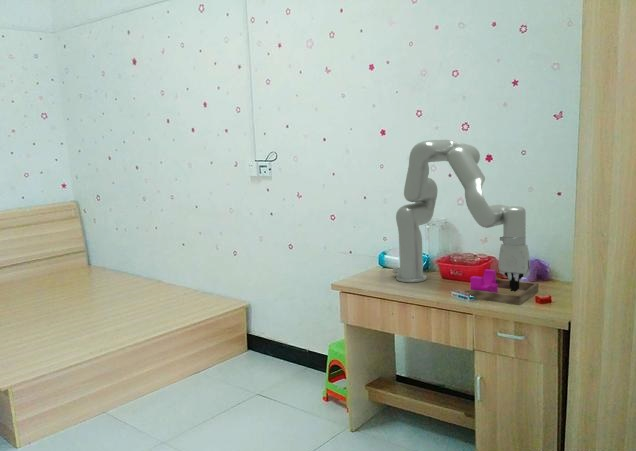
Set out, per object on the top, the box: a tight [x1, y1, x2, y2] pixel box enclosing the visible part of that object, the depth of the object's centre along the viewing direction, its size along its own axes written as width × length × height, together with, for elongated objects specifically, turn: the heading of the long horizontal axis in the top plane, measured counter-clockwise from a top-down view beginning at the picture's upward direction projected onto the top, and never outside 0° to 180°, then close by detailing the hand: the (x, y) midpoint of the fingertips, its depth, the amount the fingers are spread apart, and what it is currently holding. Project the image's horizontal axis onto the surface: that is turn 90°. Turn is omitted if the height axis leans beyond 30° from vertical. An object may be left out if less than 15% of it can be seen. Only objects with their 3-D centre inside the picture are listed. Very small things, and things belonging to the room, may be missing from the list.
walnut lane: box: [468, 278, 539, 306], centre depth 205 cm, size 18×20×3 cm
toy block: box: [469, 268, 499, 293], centre depth 208 cm, size 15×6×8 cm, turn 142°
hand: (514, 290), depth 203 cm, fingers closed
